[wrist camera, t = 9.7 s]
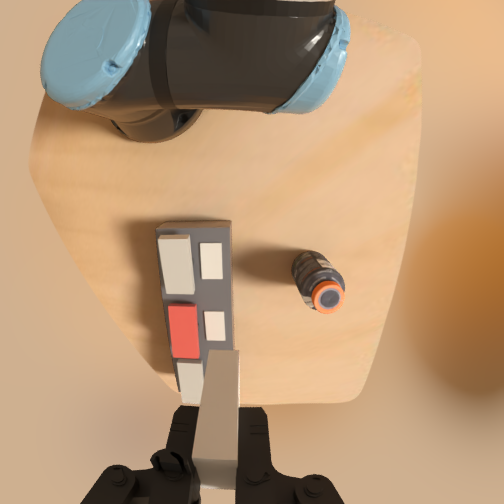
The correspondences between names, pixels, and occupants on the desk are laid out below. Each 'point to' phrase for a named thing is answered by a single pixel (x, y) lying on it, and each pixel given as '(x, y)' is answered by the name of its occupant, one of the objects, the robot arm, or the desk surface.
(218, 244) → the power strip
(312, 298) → the pill bottle
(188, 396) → the block
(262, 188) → the desk surface
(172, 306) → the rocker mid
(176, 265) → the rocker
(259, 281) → the desk surface
